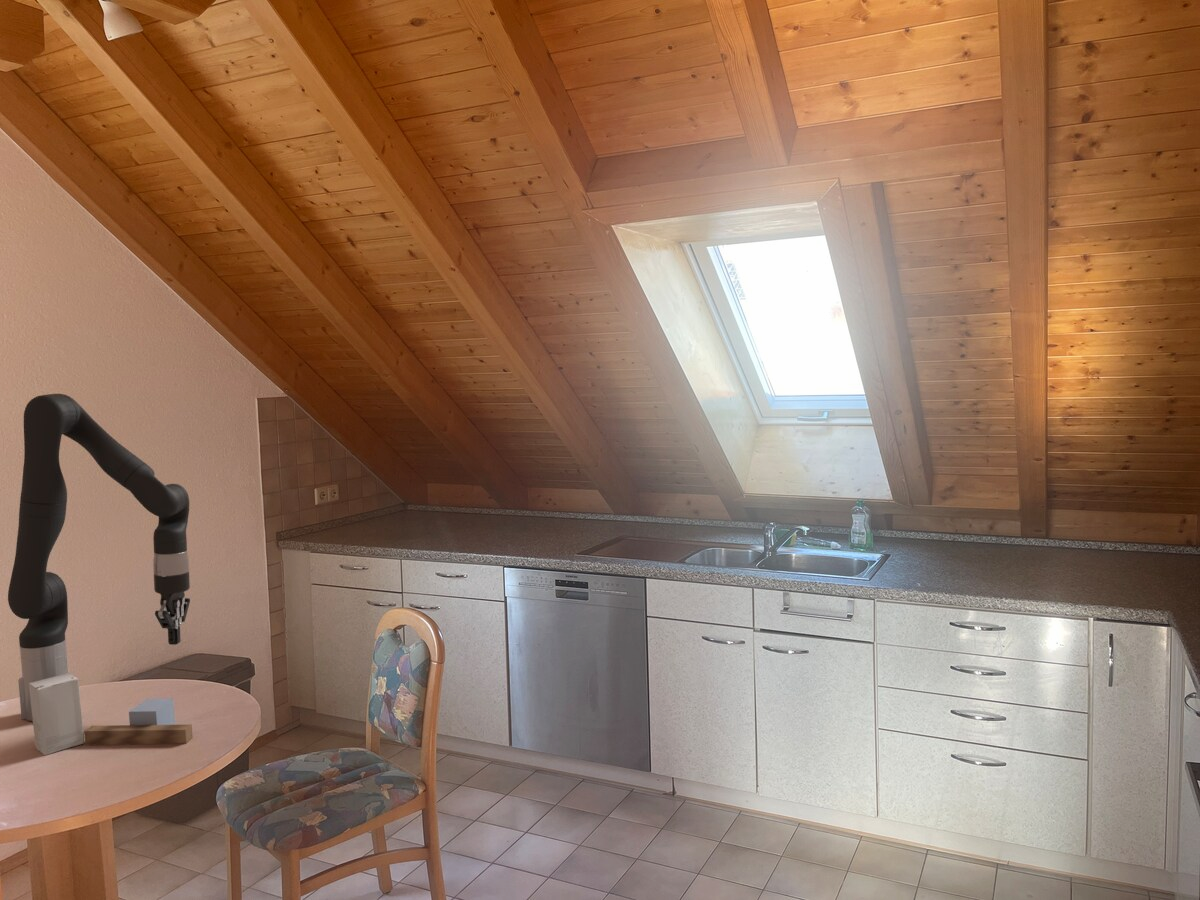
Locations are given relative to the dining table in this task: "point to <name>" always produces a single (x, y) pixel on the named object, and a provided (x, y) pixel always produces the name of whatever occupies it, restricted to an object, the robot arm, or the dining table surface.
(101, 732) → the board
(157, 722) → the block
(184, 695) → the dining table surface
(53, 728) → the skincare box
